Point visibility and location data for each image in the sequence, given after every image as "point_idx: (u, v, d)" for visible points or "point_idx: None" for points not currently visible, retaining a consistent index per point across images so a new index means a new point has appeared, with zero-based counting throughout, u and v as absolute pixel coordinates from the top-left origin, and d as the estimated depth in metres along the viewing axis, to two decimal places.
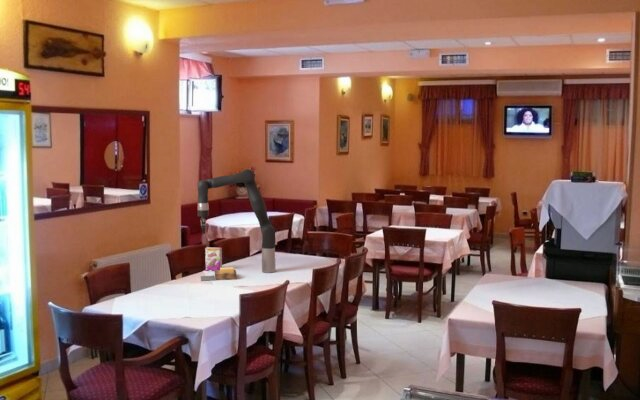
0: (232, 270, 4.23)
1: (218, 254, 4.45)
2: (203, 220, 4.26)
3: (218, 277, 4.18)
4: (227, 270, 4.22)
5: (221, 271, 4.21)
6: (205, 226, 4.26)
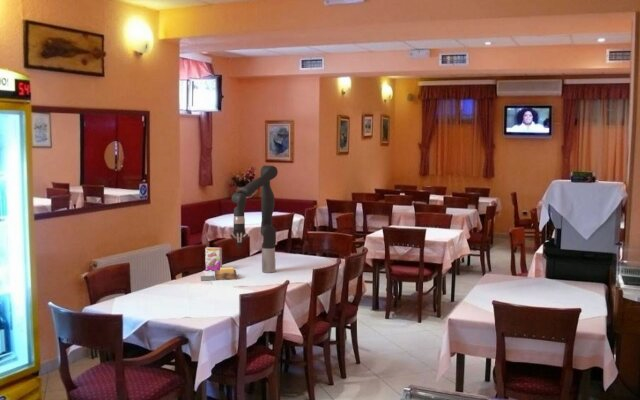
0: (232, 270, 4.23)
1: (218, 254, 4.45)
2: None
3: (218, 277, 4.18)
4: (227, 270, 4.22)
5: (221, 271, 4.21)
6: None
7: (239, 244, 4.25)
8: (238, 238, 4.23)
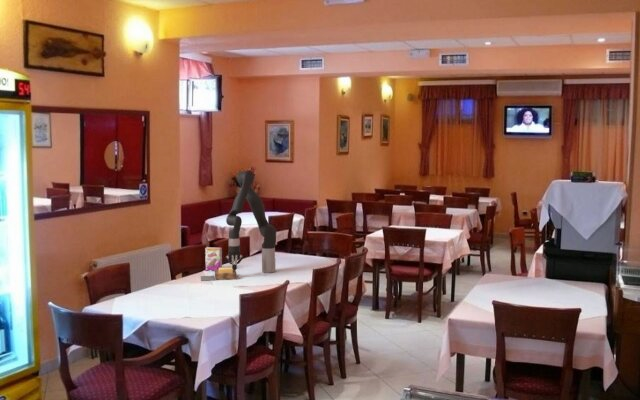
0: (231, 270, 4.23)
1: (218, 254, 4.45)
2: None
3: (218, 277, 4.18)
4: (226, 270, 4.22)
5: (220, 271, 4.21)
6: (238, 262, 4.27)
7: None
8: (233, 260, 4.24)
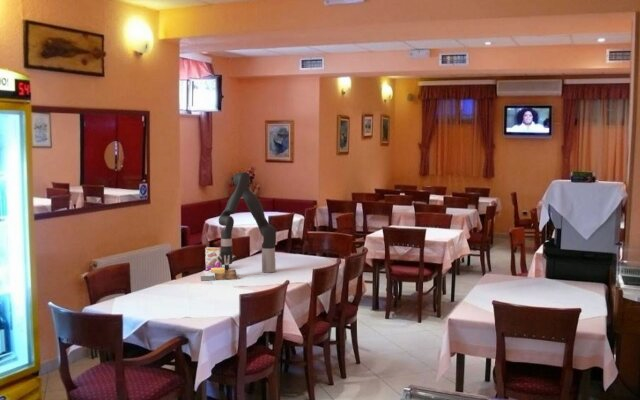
0: (223, 270, 4.22)
1: (218, 254, 4.45)
2: None
3: (218, 277, 4.18)
4: (218, 270, 4.21)
5: (212, 271, 4.21)
6: None
7: None
8: (225, 260, 4.22)
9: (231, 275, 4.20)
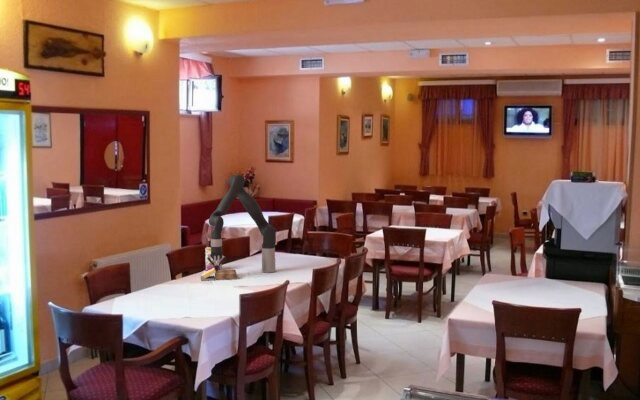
0: (213, 271, 4.21)
1: None
2: None
3: (218, 277, 4.18)
4: (209, 273, 4.21)
5: (204, 277, 4.20)
6: None
7: None
8: (215, 261, 4.21)
9: (231, 275, 4.20)
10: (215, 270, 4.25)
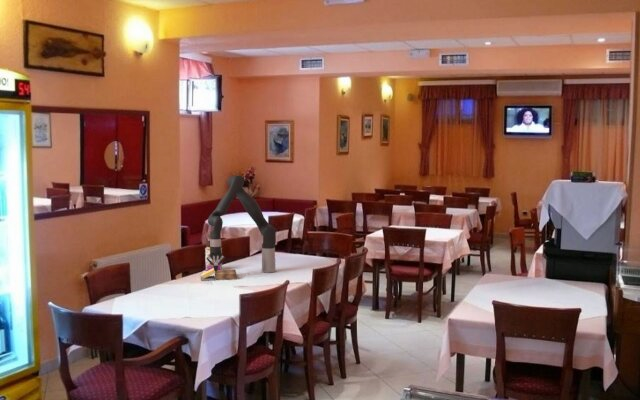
0: (213, 271, 4.21)
1: None
2: None
3: (218, 277, 4.18)
4: (208, 273, 4.21)
5: (203, 277, 4.20)
6: None
7: None
8: (214, 261, 4.21)
9: (231, 275, 4.20)
10: (214, 270, 4.25)
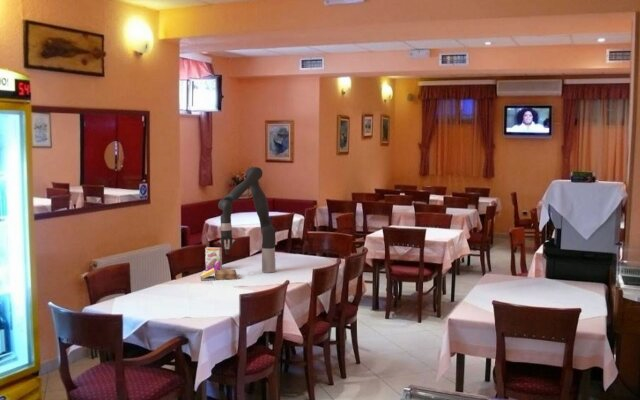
0: (213, 271, 4.21)
1: (218, 254, 4.45)
2: None
3: (218, 277, 4.18)
4: (208, 273, 4.21)
5: (203, 277, 4.20)
6: None
7: None
8: None
9: (231, 275, 4.20)
10: (214, 270, 4.25)
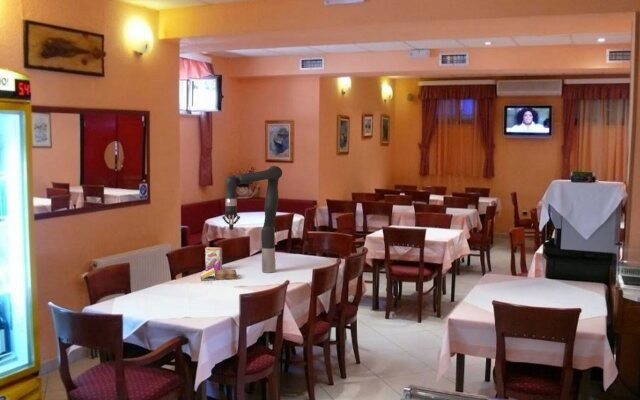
0: (213, 271, 4.21)
1: (218, 254, 4.45)
2: None
3: (218, 277, 4.18)
4: (208, 273, 4.21)
5: (203, 277, 4.20)
6: (235, 222, 4.37)
7: None
8: (230, 220, 4.33)
9: (231, 275, 4.20)
10: (214, 270, 4.25)
